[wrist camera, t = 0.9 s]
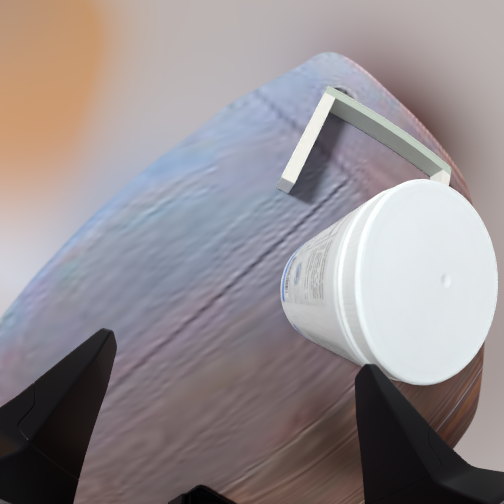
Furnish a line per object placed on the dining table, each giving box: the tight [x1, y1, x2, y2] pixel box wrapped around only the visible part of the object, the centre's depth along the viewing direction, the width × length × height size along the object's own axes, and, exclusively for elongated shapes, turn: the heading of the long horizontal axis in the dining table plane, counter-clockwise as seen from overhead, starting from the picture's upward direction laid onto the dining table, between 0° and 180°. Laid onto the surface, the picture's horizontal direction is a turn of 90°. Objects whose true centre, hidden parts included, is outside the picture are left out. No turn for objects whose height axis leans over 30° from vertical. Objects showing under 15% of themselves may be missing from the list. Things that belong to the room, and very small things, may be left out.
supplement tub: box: [280, 179, 498, 385], centre depth 17 cm, size 10×10×15 cm
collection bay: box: [276, 86, 451, 193], centre depth 25 cm, size 12×16×2 cm
